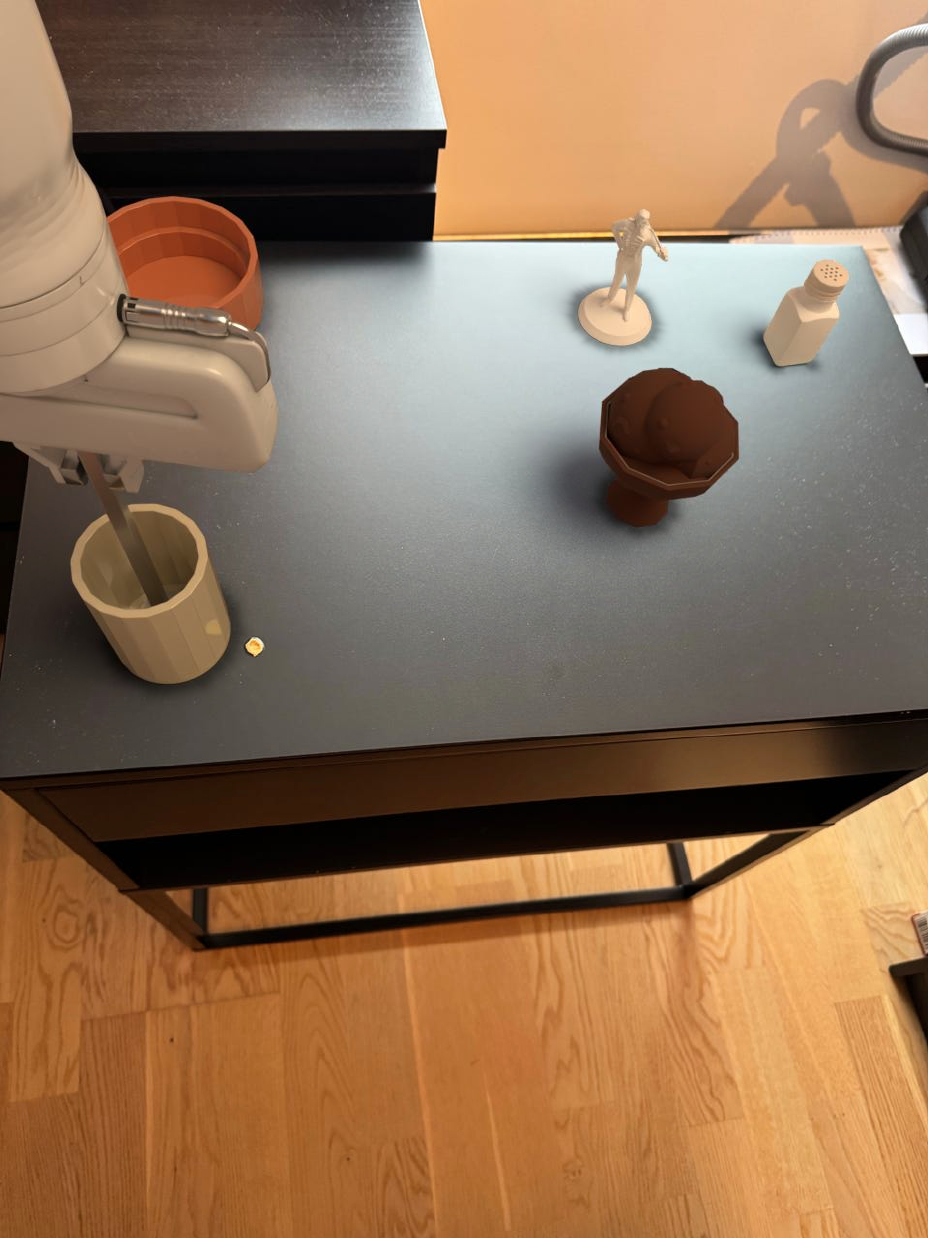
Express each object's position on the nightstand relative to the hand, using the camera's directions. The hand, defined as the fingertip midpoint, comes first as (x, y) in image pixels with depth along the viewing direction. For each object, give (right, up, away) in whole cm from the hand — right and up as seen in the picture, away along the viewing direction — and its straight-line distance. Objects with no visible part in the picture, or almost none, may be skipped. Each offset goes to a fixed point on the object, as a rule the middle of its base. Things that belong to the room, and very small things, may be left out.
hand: (102, 478), depth 50 cm
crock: (-2, -9, +18) cm, 20 cm away
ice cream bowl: (+35, +2, +27) cm, 44 cm away
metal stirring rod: (-2, -8, +17) cm, 19 cm away
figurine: (+34, +21, +36) cm, 54 cm away
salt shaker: (+50, +18, +36) cm, 65 cm away
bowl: (-5, +20, +32) cm, 38 cm away
